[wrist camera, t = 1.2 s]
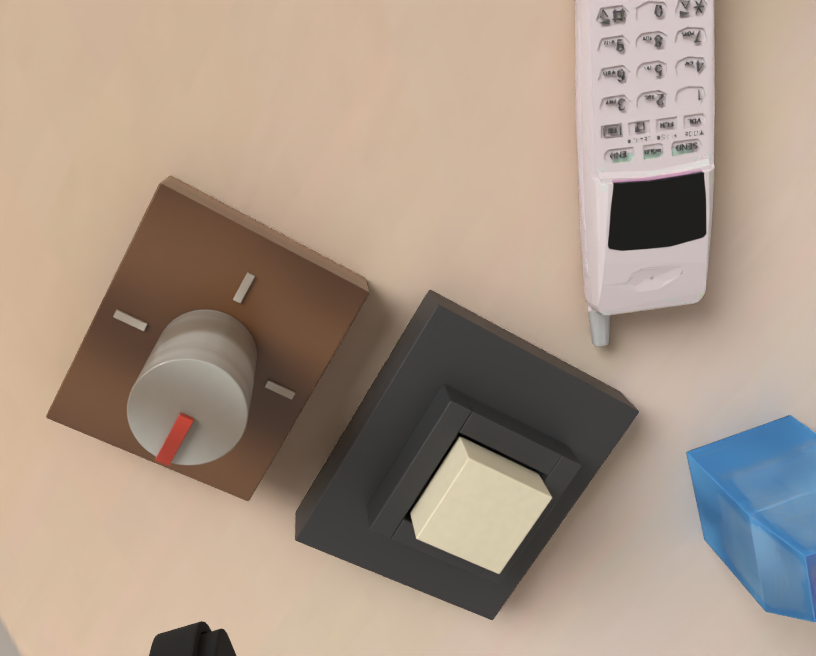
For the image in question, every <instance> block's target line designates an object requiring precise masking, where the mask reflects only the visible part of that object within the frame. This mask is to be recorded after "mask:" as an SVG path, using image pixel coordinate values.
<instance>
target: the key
mask: <svg viewBox="0 0 816 656" xmlns="http://www.w3.org/2000/svg"><path fill="white" fill-rule="evenodd" d="M551 499H552V496H551V495H550V493H549V491H548V489H547V488H546V486H545V484H544V482H543V481H542V479H541V477H540V475H539V474H538V473H536V472H533V471H531V470H529V469H527V468H525V467H523V466H521V465H519V464H517V463H515V462H513V461H511V460H508V459H506V458H504V457H502V456H500V455H498V454H496V453H494V452H492V451H490V450H488V449H486V448H483V447H481V446H479V445H477V444H475V443H473V442H471V441H469V440H467V439H465V438H463V437H460V436H459V437H458V439H457V441H456V442H455V444H454V445H453V447H452V448H451V450H450V451H449V453H448V455H447V456H446V458H445V459H444V461H443V462H442V464H441V465H440V467H439V469H438V470H437V472H436V473H435V475H434V476H433V478H432V479H431V481H430V483H429V484H428V486H427V487H426V489H425V490H424V492H423V493H422V495H421V497H420V498H419V500H418V501H417V503H416V504H415V506H414V507H413V509H412V511H411V512H410V514H411V519H412V523H413V527H414V531H415V535H416V539H418V540H420V541H423V542H425V543H427V544H430V545H432V546H434V547H437V548H439V549H441V550H444V551H446V552H448V553H451V554H453V555H455V556H458V557H460V558H462V559H465V560H467V561H469V562H472V563H474V564H476V565H479V566H481V567H483V568H486V569H488V570H490V571H493V572H495V573H497V574H500V573H501V571H502V570H503V568H504V567H505V565H506V564H507V562H508V561H509V560H510V558H511V557H512V555H513V554H514V552H515V551H516V549H517V548H518V547H519V545H520V544H521V542H522V541H523V539H524V538H525V536H526V535H527V534H528V532H529V531H530V529H531V528H532V526H533V525H534V524H535V522H536V521H537V519H538V518H539V516H540V515H541V513H542V512H543V511H544V509H545V508H546V506H547V505H548V503H549V502H550V500H551Z"/></svg>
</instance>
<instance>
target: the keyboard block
mask: <svg viewBox="0 0 816 656" xmlns="http://www.w3.org/2000/svg"><path fill="white" fill-rule="evenodd" d="M638 413H639V411H638V410H637V409H636V408H635V407H634V406H633V405H632V404H631V403H630V402H629V401H628V399H627V398H626V397H625V396H624V395H623V394H622V393H621V392H620V391H618V390H616V389H614V388H612V387H610V386H609V385H607V384H605V383H603V382H601V381H599V380H597V379H595V378H594V377H592V376H590V375H588V374H586V373H584V372H582V371H581V370H579V369H577V368H575V367H573V366H571V365H569V364H568V363H566V362H564V361H562V360H560V359H558V358H556V357H555V356H553V355H551V354H549V353H547V352H545V351H543V350H542V349H540V348H538V347H536V346H534V345H532V344H530V343H528V342H527V341H525V340H523V339H521V338H519V337H517V336H515V335H514V334H512V333H510V332H508V331H506V330H504V329H502V328H501V327H499V326H497V325H495V324H493V323H491V322H489V321H488V320H486V319H484V318H482V317H480V316H478V315H476V314H475V313H473V312H471V311H469V310H467V309H465V308H463V307H462V306H460V305H458V304H456V303H454V302H452V301H450V300H448V299H447V298H445V297H443V296H441V295H439V294H437V293H435V292H434V291H432V290H429V291H428V293H427V294H426V296H425V298H424V299H423V301H422V303H421V304H420V306H419V308H418V309H417V311H416V313H415V314H414V316H413V318H412V319H411V321H410V323H409V324H408V326H407V328H406V329H405V331H404V333H403V334H402V336H401V338H400V339H399V341H398V343H397V344H396V346H395V348H394V349H393V351H392V353H391V354H390V356H389V358H388V359H387V361H386V363H385V364H384V366H383V368H382V369H381V371H380V373H379V374H378V376H377V378H376V379H375V381H374V383H373V384H372V386H371V388H370V389H369V391H368V393H367V394H366V396H365V398H364V399H363V401H362V403H361V404H360V406H359V408H358V409H357V411H356V413H355V414H354V416H353V418H352V420H351V421H350V423H349V425H348V426H347V428H346V430H345V431H344V433H343V435H342V436H341V438H340V440H339V441H338V443H337V445H336V446H335V448H334V450H333V451H332V453H331V455H330V456H329V458H328V460H327V461H326V463H325V465H324V466H323V468H322V470H321V471H320V473H319V475H318V476H317V478H316V480H315V481H314V483H313V485H312V486H311V488H310V490H309V491H308V493H307V495H306V496H305V498H304V500H303V501H302V503H301V505H300V506H299V508H298V510H297V511H296V522H295V540H296V541H298V542H301V543H303V544H306V545H308V546H310V547H313V548H315V549H318V550H320V551H323V552H325V553H328V554H330V555H333V556H335V557H338V558H340V559H342V560H345V561H347V562H350V563H352V564H355V565H357V566H360V567H362V568H365V569H367V570H370V571H372V572H375V573H377V574H379V575H382V576H384V577H387V578H389V579H392V580H394V581H397V582H399V583H402V584H404V585H407V586H409V587H412V588H414V589H416V590H419V591H421V592H424V593H426V594H429V595H431V596H434V597H436V598H439V599H441V600H444V601H446V602H448V603H451V604H453V605H456V606H458V607H461V608H463V609H466V610H468V611H471V612H473V613H476V614H478V615H481V616H483V617H485V618H488V619H490V620H493V619H494V618H495V616H496V615H497V613H498V612H499V611H500V609H501V608H502V606H503V605H504V603H505V602H506V601H507V599H508V598H509V596H510V595H511V593H512V592H513V591H514V589H515V588H516V586H517V585H518V584H519V582H520V581H521V579H522V578H523V576H524V575H525V574H526V572H527V571H528V569H529V568H530V566H531V565H532V564H533V562H534V561H535V559H536V558H537V556H538V555H539V554H540V552H541V551H542V549H543V548H544V547H545V545H546V544H547V542H548V541H549V539H550V538H551V537H552V535H553V534H554V532H555V531H556V529H557V528H558V527H559V525H560V524H561V522H562V521H563V520H564V518H565V517H566V515H567V514H568V512H569V511H570V510H571V508H572V507H573V505H574V504H575V502H576V501H577V500H578V498H579V497H580V495H581V494H582V492H583V491H584V490H585V488H586V487H587V485H588V484H589V483H590V481H591V480H592V478H593V477H594V475H595V474H596V473H597V471H598V470H599V468H600V467H601V465H602V464H603V463H604V461H605V460H606V458H607V457H608V455H609V454H610V453H611V451H612V450H613V448H614V447H615V446H616V444H617V443H618V441H619V440H620V438H621V437H622V436H623V434H624V433H625V431H626V430H627V428H628V427H629V426H630V424H631V423H632V421H633V420H634V419H635V417H636V416H637V414H638ZM459 436H460V437H463V438H465V439H467V440H469V441H471V442H473V443H475V444H477V445H479V446H481V447H483V448H486V449H488V450H490V451H492V452H494V453H496V454H498V455H500V456H502V457H504V458H506V459H508V460H511V461H513V462H515V463H517V464H519V465H521V466H523V467H525V468H527V469H529V470H531V471H533V472H536V473H538V474H539V475H540V477H541V479H542V481H543V482H544V484H545V486H546V488H547V489H548V491H549V493H550V495H551V496H552V499H551V500H550V502H549V503H548V505H547V506H546V508H545V509H544V511H543V512H542V513H541V515H540V516H539V518H538V519H537V521H536V522H535V524H534V525H533V526H532V528H531V529H530V531H529V532H528V534H527V535H526V536H525V538H524V539H523V541H522V542H521V544H520V545H519V547H518V548H517V549H516V551H515V552H514V554H513V555H512V557H511V558H510V560H509V561H508V562H507V564H506V565H505V567H504V568H503V570H502V571H501V573H500V574H497V573H495V572H493V571H490V570H488V569H486V568H483V567H481V566H479V565H476V564H474V563H472V562H469V561H467V560H465V559H462V558H460V557H458V556H455V555H453V554H451V553H448V552H446V551H444V550H441V549H439V548H437V547H434V546H432V545H430V544H427V543H425V542H423V541H420V540H418V539H416V535H415V531H414V527H413V523H412V519H411V514H410V512H411V511H412V509H413V507H414V506H415V504H416V503H417V501H418V500H419V498H420V497H421V495H422V493H423V492H424V490H425V489H426V487H427V486H428V484H429V483H430V481H431V479H432V478H433V476H434V475H435V473H436V472H437V470H438V469H439V467H440V465H441V464H442V462H443V461H444V459H445V458H446V456H447V455H448V453H449V451H450V450H451V448H452V447H453V445H454V444H455V442H456V441H457V439H458V437H459Z"/></svg>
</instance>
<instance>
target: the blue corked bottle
mask: <svg viewBox="0 0 816 656" xmlns="http://www.w3.org/2000/svg"><path fill="white" fill-rule="evenodd" d="M686 453H687V458H688V463H689V468H690V472H691V477H692V482H693V487H694V492H695V496H696V501H697V506H698V511H699V516H700V520H701V525H702V530H703V535H704V540H705V541H706V542H707V543H708V544H709V546H710V547H711V548H712V549H713V550H714V551H715V553H716V554H717V555H718V556H719V557H720V558H721V560H722V561H723V562H724V563H725V564H726V566H727V567H728V568H729V569H730V570H731V571H732V573H733V574H734V575H735V576H736V577H737V578H738V580H739V581H740V582H741V583H742V584H743V586H744V587H745V588H746V589H747V590H748V591H749V593H750V594H751V595H752V596H753V597H754V598H755V600H756V601H757V602H758V603H759V604H760V606H761V607H762V608H763V609H764V610H765V611H766V612H769V613H774V614H778V615H783V616H788V617H793V618H797V619H802V620H807V621H811V622H816V433H815V432H813V431H812V430H810V429H809V428H808V427H806V426H805V425H803V424H802V423H801V422H799V421H798V420H796V419H795V418H794V417H792V416H791V415H790V416H787V417H784V418H781V419H778V420H775V421H773V422H770V423H767V424H764V425H761V426H759V427H756V428H753V429H750V430H747V431H744V432H742V433H739V434H736V435H733V436H730V437H728V438H725V439H722V440H719V441H716V442H713V443H711V444H708V445H705V446H702V447H699V448H697V449H694V450H691V451H688V452H686Z"/></svg>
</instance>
